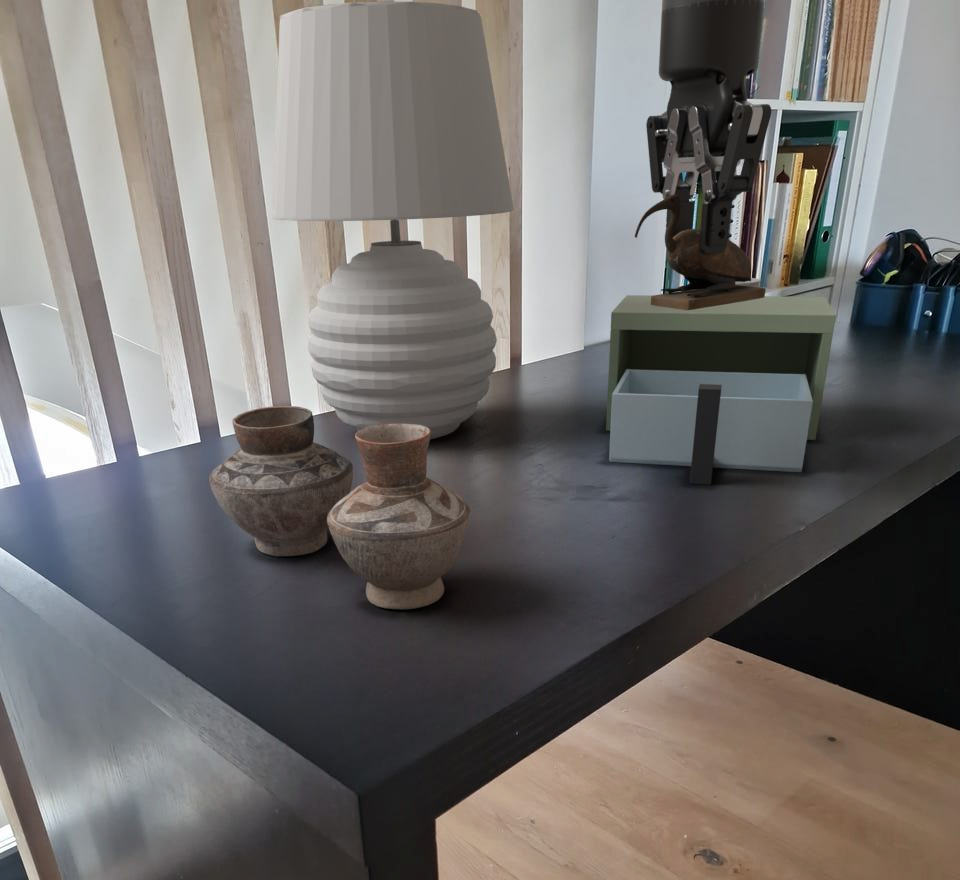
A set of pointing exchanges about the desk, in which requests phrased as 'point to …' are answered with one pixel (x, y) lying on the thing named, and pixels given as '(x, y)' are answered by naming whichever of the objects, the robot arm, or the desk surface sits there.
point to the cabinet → (725, 340)
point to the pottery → (345, 502)
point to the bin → (711, 420)
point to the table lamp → (392, 200)
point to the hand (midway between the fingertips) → (694, 249)
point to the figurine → (701, 268)
